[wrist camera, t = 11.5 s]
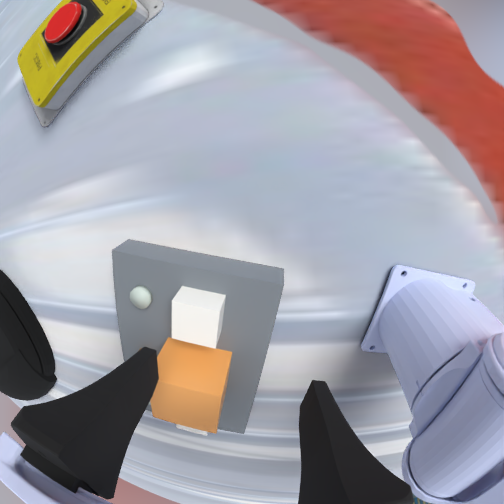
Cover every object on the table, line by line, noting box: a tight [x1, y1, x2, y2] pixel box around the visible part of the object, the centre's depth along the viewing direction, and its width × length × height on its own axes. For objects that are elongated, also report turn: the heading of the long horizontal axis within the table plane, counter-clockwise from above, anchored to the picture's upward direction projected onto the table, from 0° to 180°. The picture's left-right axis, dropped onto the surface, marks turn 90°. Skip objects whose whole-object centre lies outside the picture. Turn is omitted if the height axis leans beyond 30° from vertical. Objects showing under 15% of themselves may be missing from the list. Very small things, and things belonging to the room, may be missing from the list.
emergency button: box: [18, 0, 164, 127], centre depth 12 cm, size 9×4×15 cm
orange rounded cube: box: [150, 337, 232, 433], centre depth 18 cm, size 5×5×4 cm
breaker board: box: [112, 239, 284, 436], centre depth 21 cm, size 12×18×4 cm, turn 171°
